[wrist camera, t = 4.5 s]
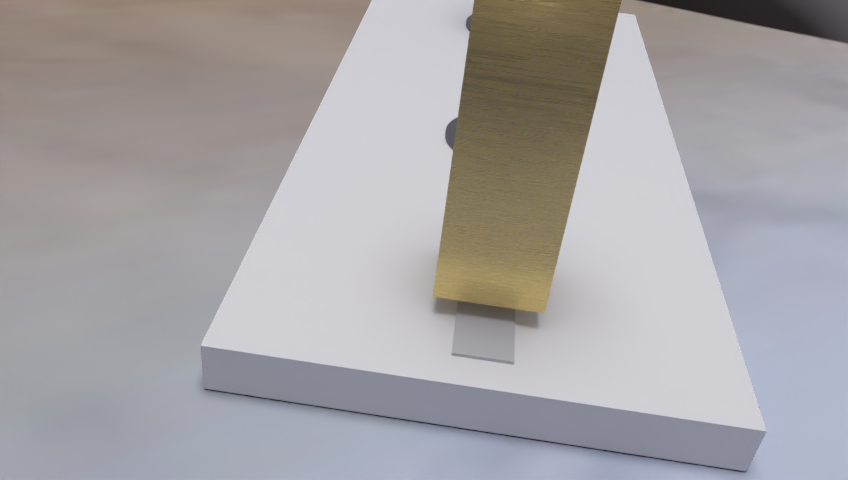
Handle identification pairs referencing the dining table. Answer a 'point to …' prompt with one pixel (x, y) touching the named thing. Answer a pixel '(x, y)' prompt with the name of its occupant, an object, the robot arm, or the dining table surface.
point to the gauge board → (478, 323)
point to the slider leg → (520, 146)
